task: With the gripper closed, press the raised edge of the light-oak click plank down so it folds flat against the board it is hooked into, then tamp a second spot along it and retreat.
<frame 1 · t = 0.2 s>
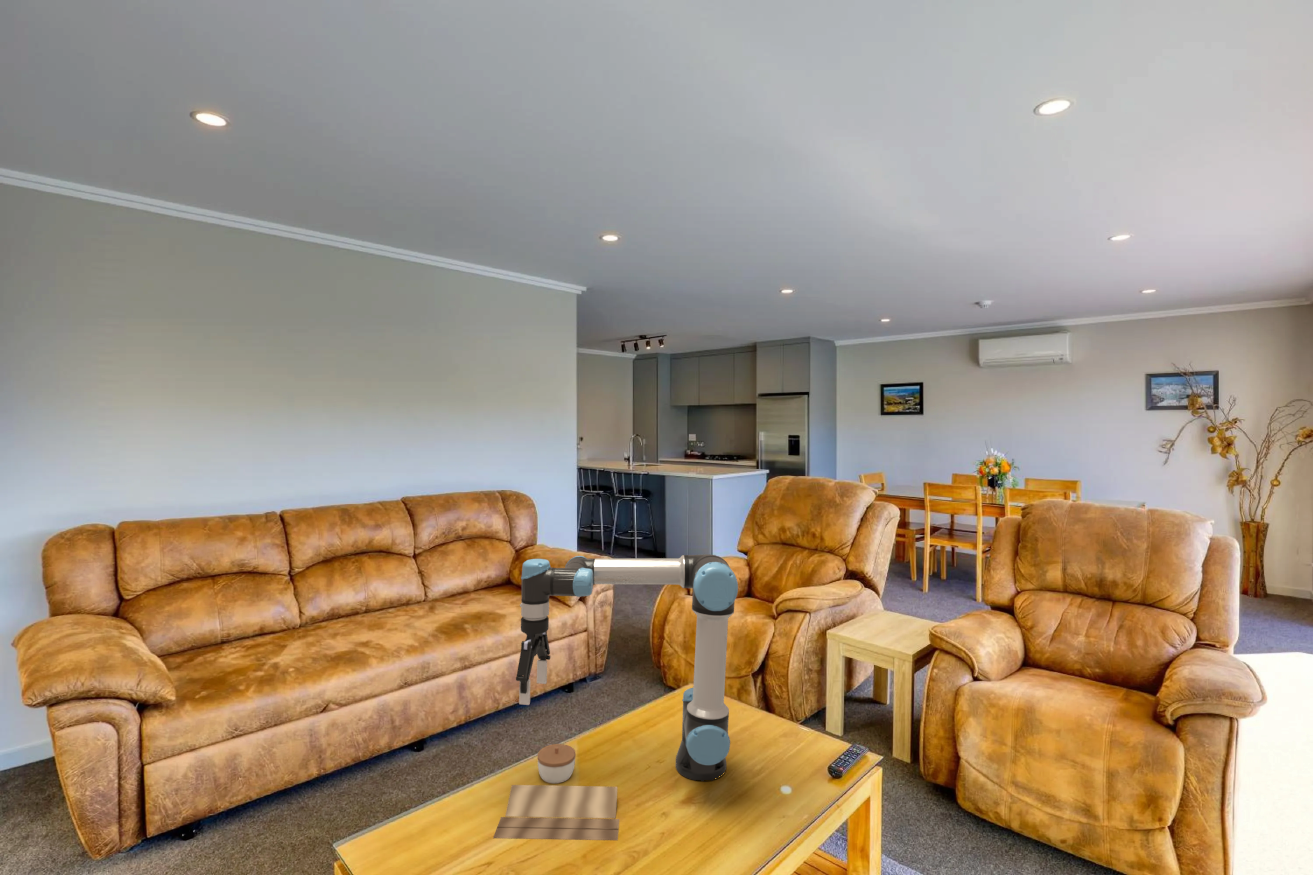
hand: (533, 693, 169), 27 cm above the table, fingers open, 13 cm apart
lidded jar: (556, 780, 175), on the table
laid board: (557, 834, 151), on the table
plank: (562, 802, 159), point 3 cm above the table, hinge at 30.0°
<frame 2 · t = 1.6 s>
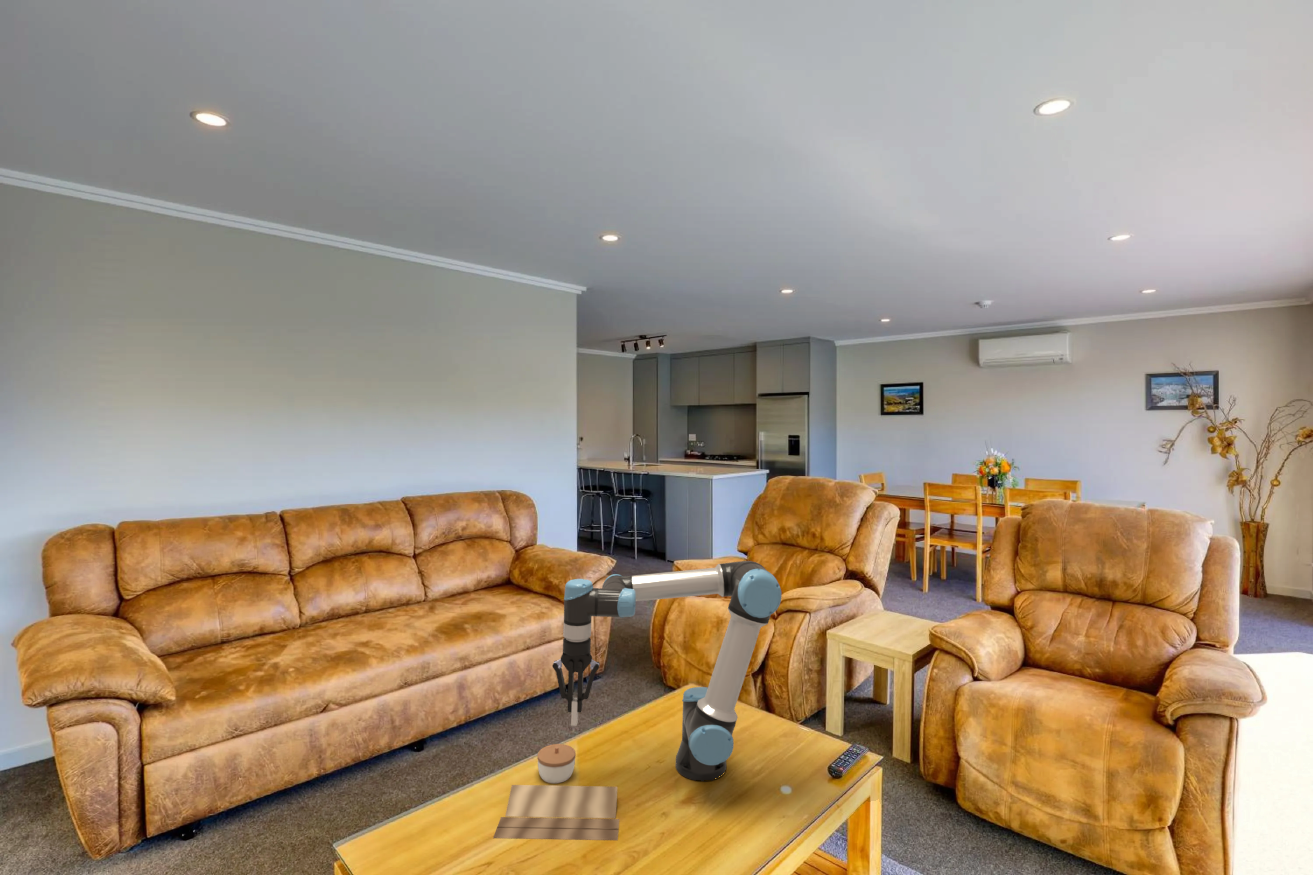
hand: (574, 723, 167), 20 cm above the table, fingers closed
nothing on the table moved.
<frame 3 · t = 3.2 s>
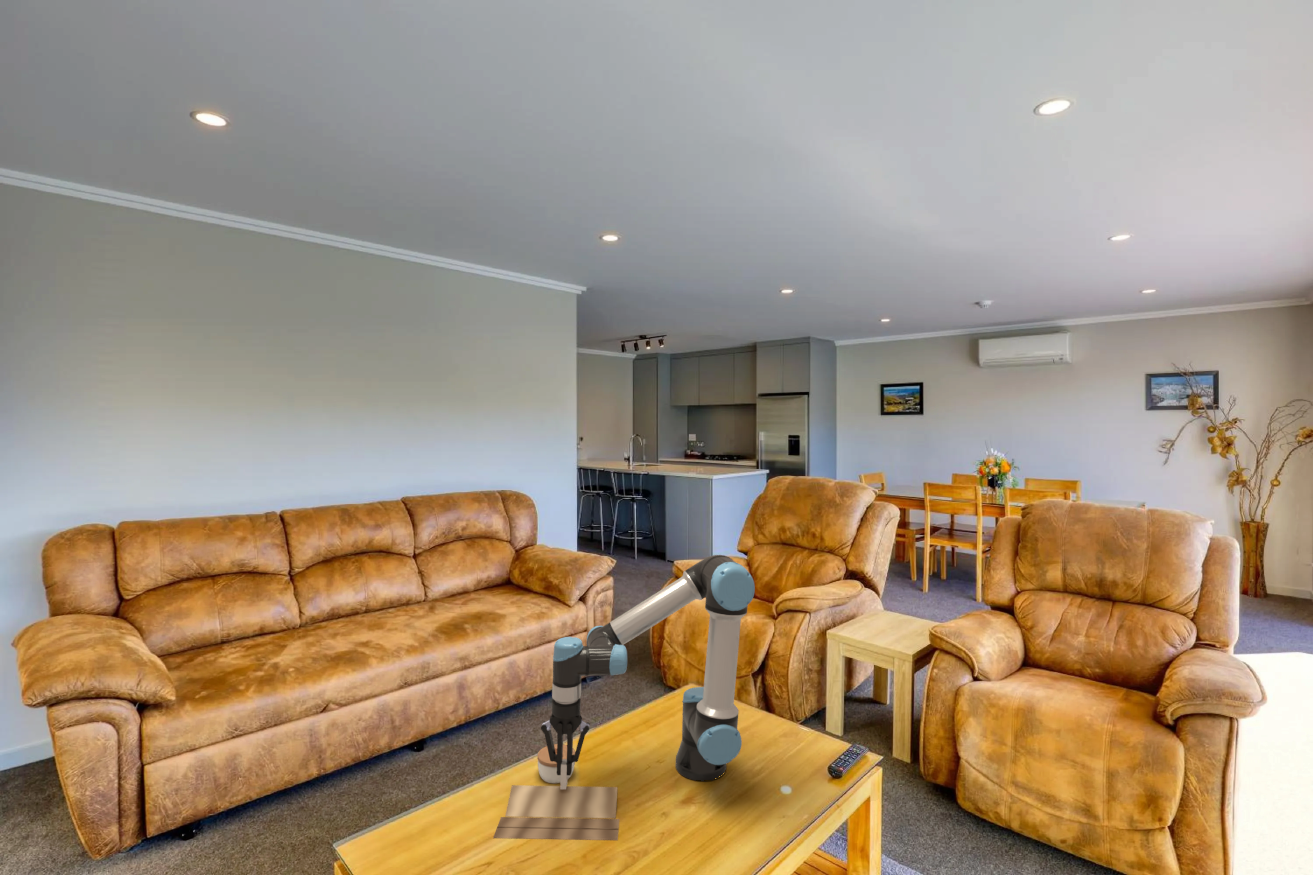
hand: (563, 786, 162), 6 cm above the table, fingers closed
plank: (562, 802, 159), point 3 cm above the table, hinge at 28.6°, touching gripper
everything else where it was.
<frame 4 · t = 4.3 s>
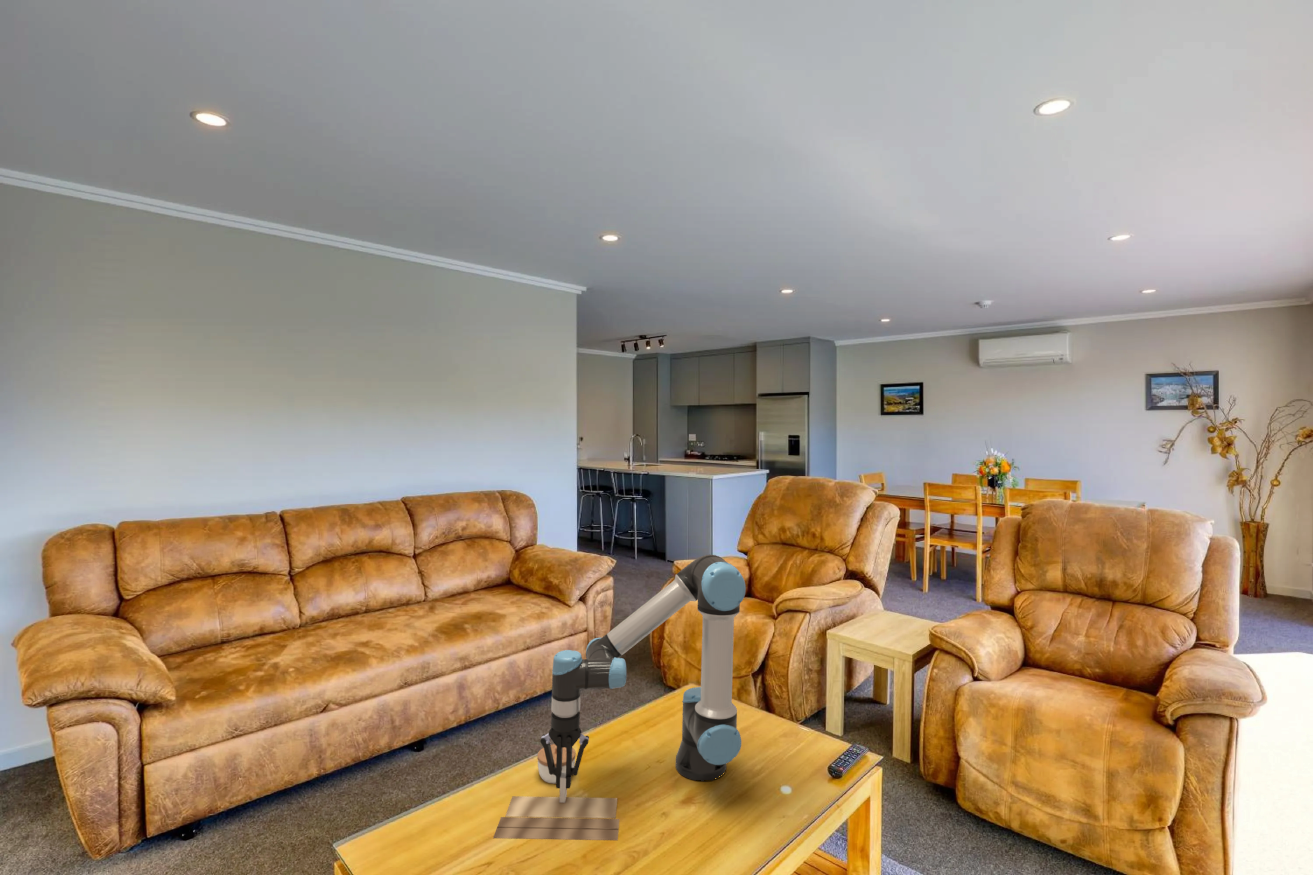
hand: (563, 799, 162), 2 cm above the table, fingers closed
plank: (562, 809, 160), point 1 cm above the table, hinge at 2.2°, touching gripper
everything else where it was.
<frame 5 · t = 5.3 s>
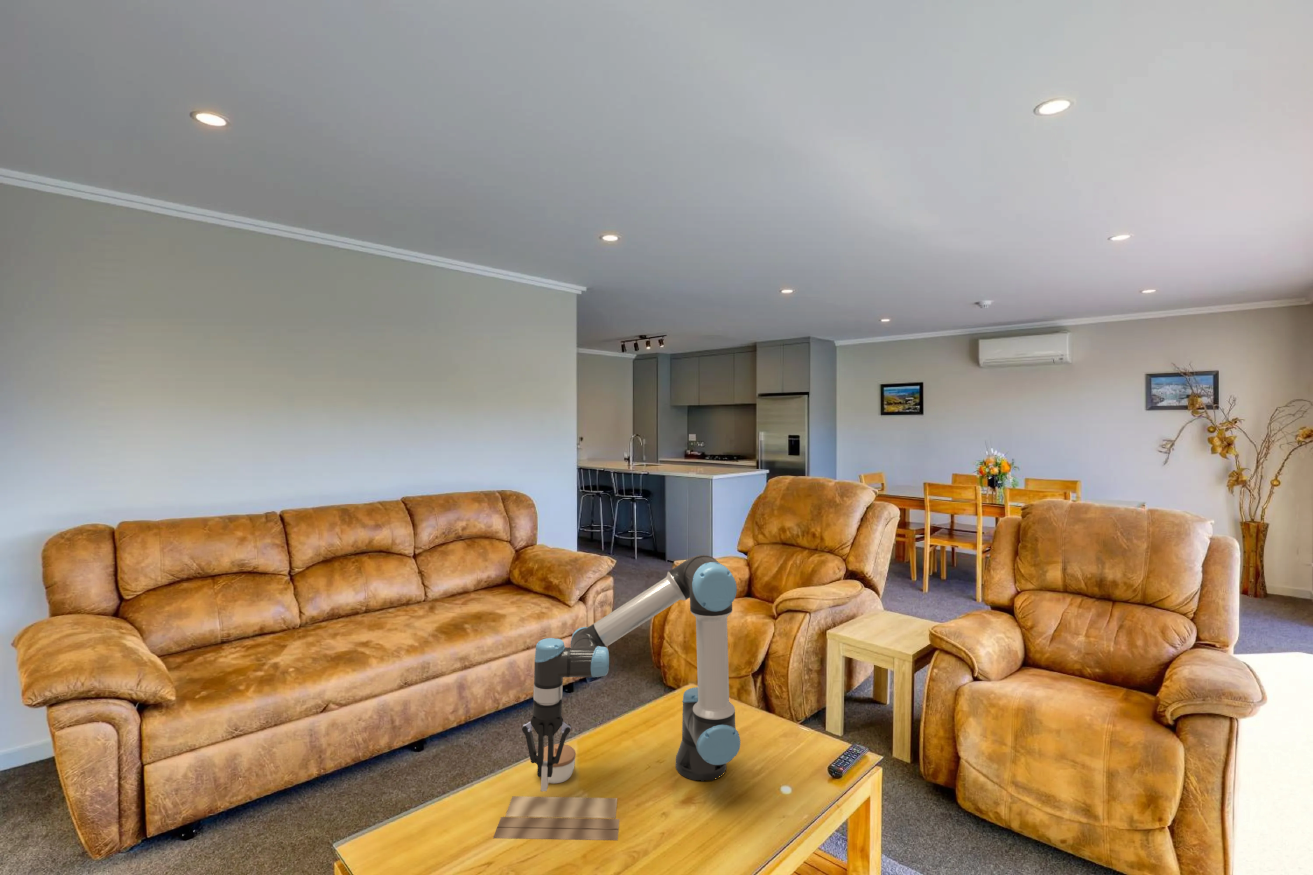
hand: (544, 787, 162), 5 cm above the table, fingers closed
plank: (562, 809, 160), point 1 cm above the table, hinge at 2.1°
everything else where it was.
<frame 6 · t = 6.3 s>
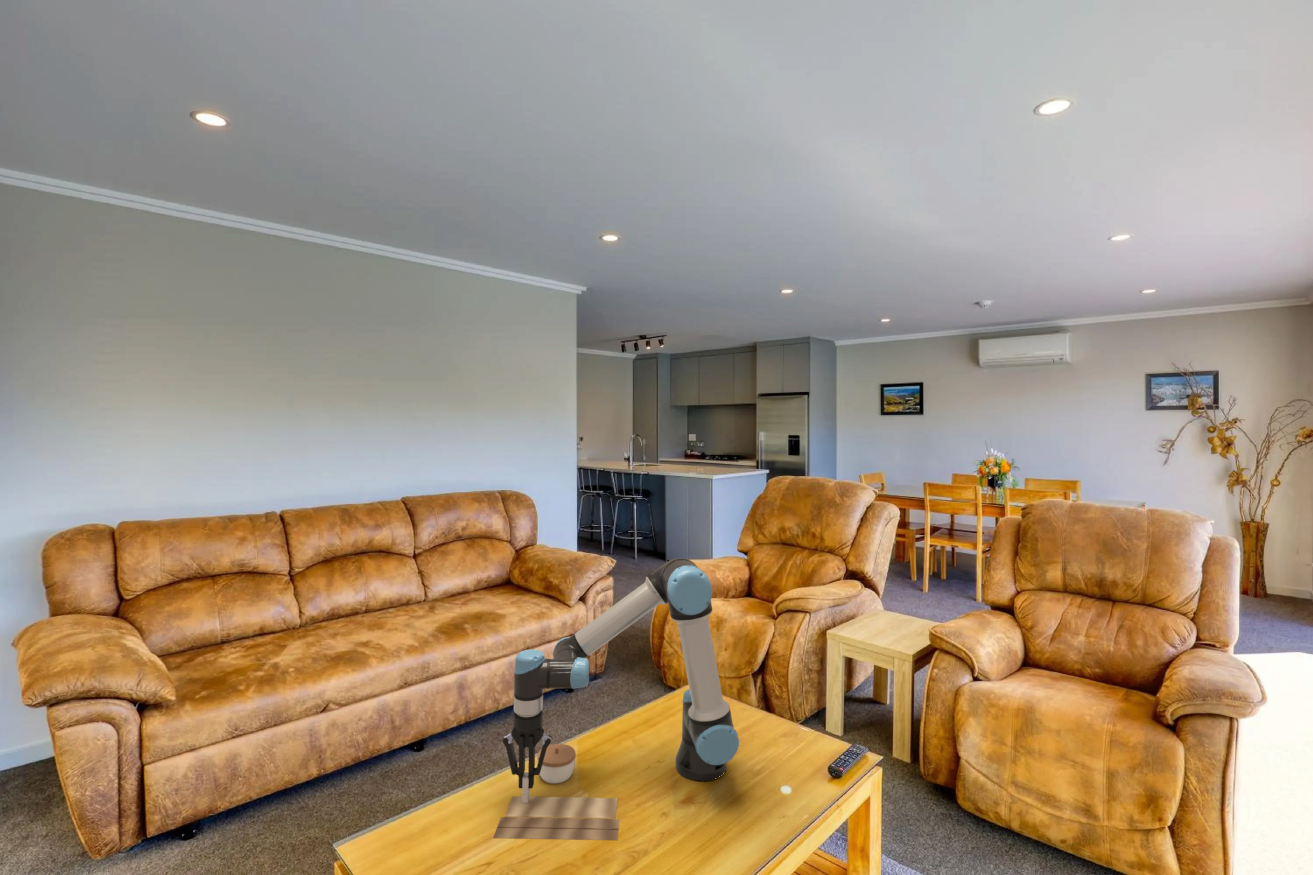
hand: (525, 799, 162), 2 cm above the table, fingers closed
plank: (562, 809, 160), point 1 cm above the table, hinge at 2.1°, touching gripper
everything else where it was.
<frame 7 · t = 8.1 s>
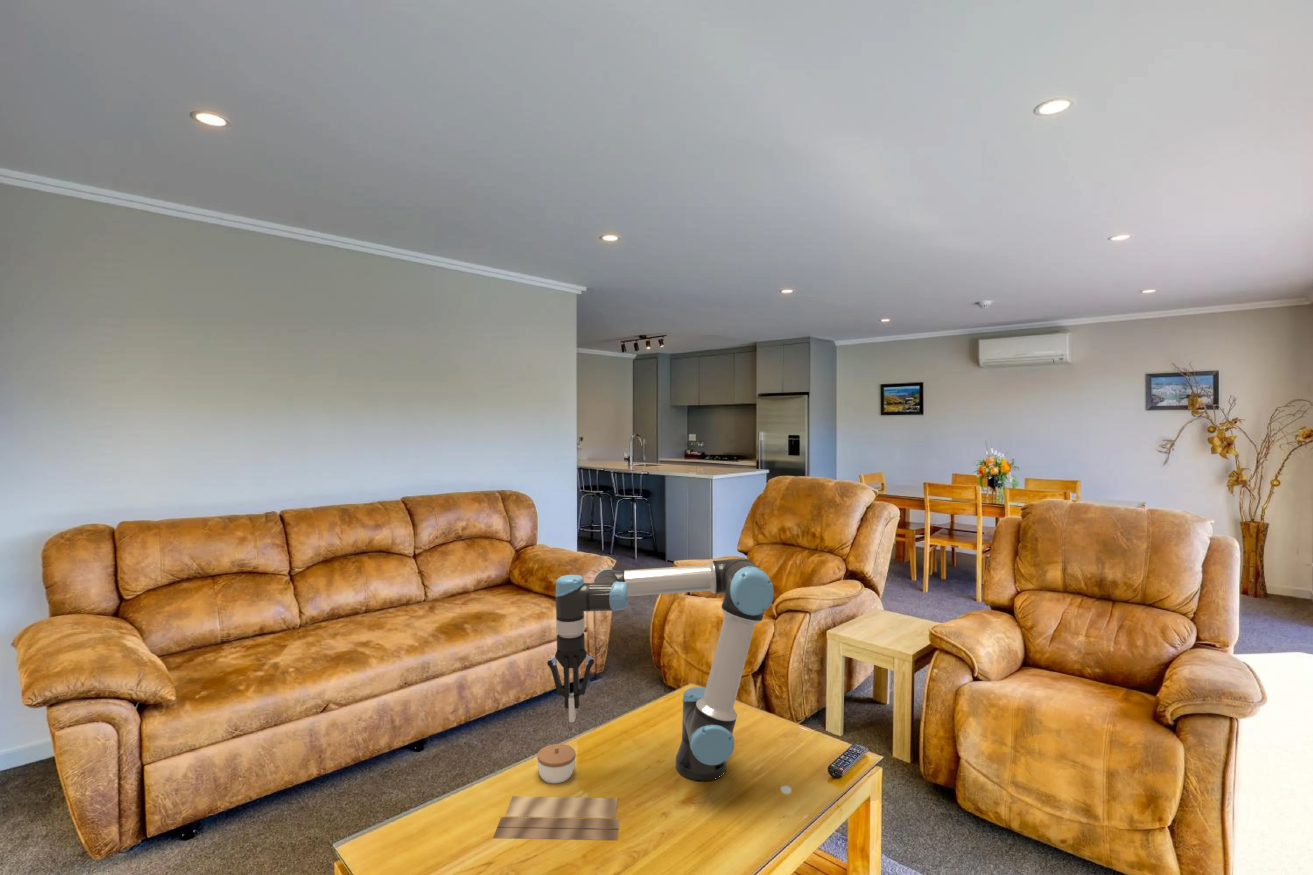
hand: (572, 719, 167), 21 cm above the table, fingers closed
plank: (562, 809, 160), point 1 cm above the table, hinge at 2.0°
everything else where it was.
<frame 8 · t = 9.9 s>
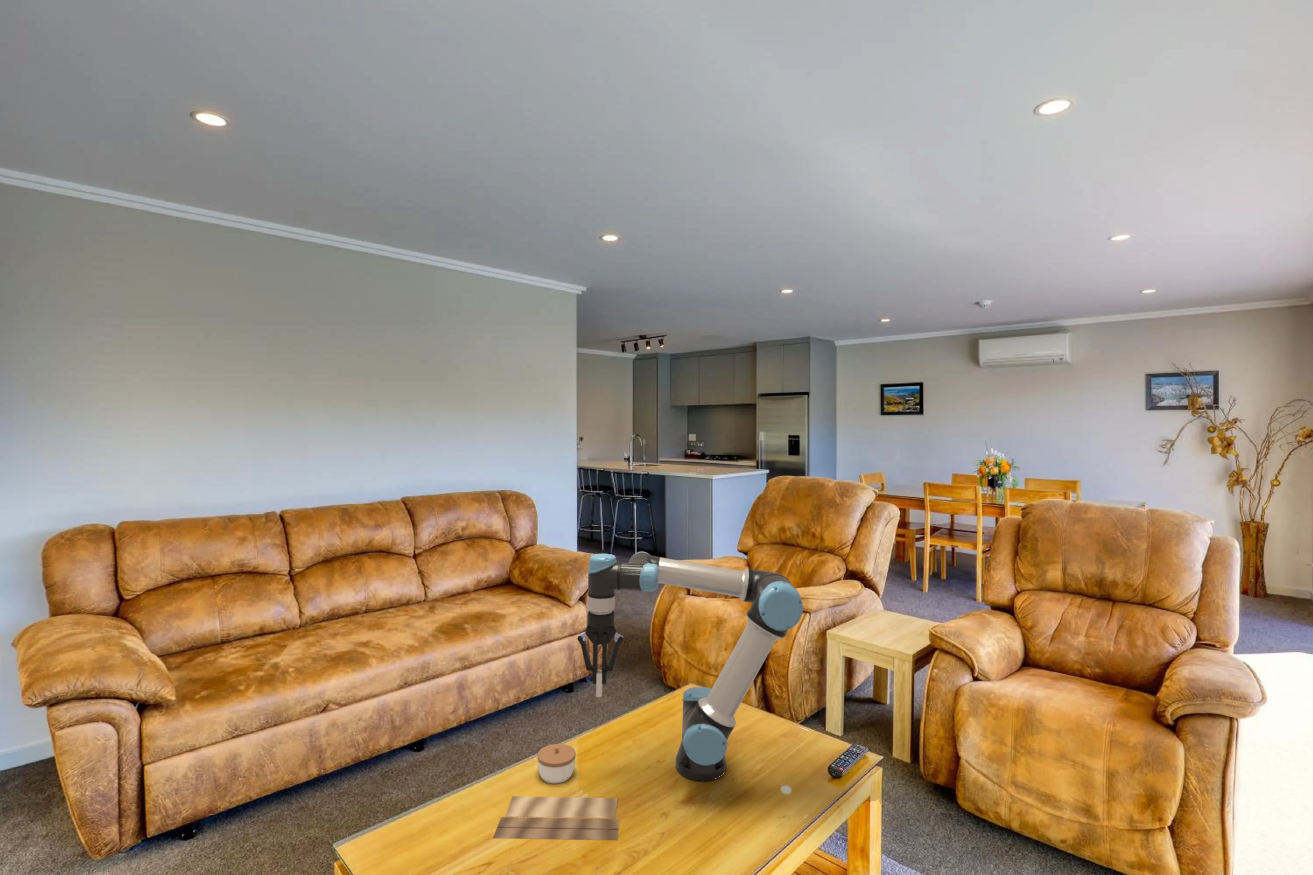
hand: (599, 694, 170), 26 cm above the table, fingers closed
nothing on the table moved.
at the end: plank at +2° (first picture: +30°) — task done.
